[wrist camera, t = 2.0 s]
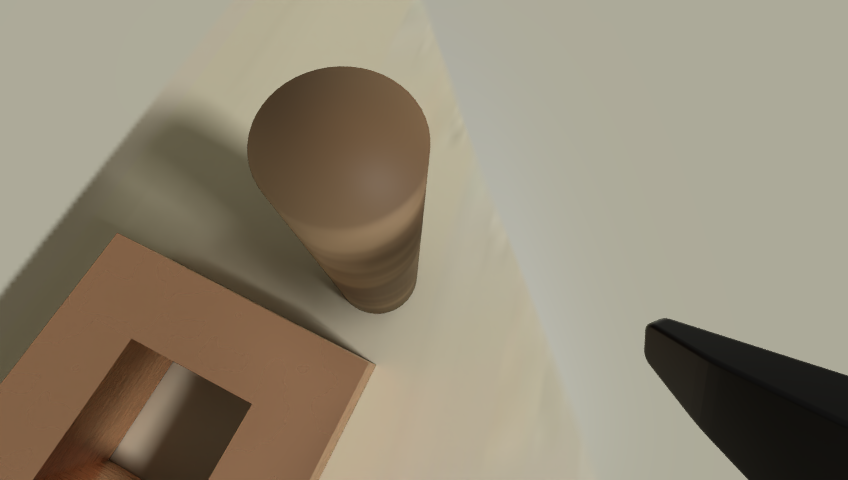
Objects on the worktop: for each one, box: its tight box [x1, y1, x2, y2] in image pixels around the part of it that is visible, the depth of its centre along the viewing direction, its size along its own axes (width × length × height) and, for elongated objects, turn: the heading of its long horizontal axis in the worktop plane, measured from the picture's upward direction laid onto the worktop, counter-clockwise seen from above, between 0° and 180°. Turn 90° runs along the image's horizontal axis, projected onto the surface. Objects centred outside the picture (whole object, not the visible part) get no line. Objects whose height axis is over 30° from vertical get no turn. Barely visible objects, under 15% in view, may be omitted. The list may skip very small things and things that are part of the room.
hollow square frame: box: [0, 233, 376, 480], centre depth 17 cm, size 12×12×4 cm
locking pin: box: [247, 66, 430, 314], centre depth 15 cm, size 4×4×13 cm
